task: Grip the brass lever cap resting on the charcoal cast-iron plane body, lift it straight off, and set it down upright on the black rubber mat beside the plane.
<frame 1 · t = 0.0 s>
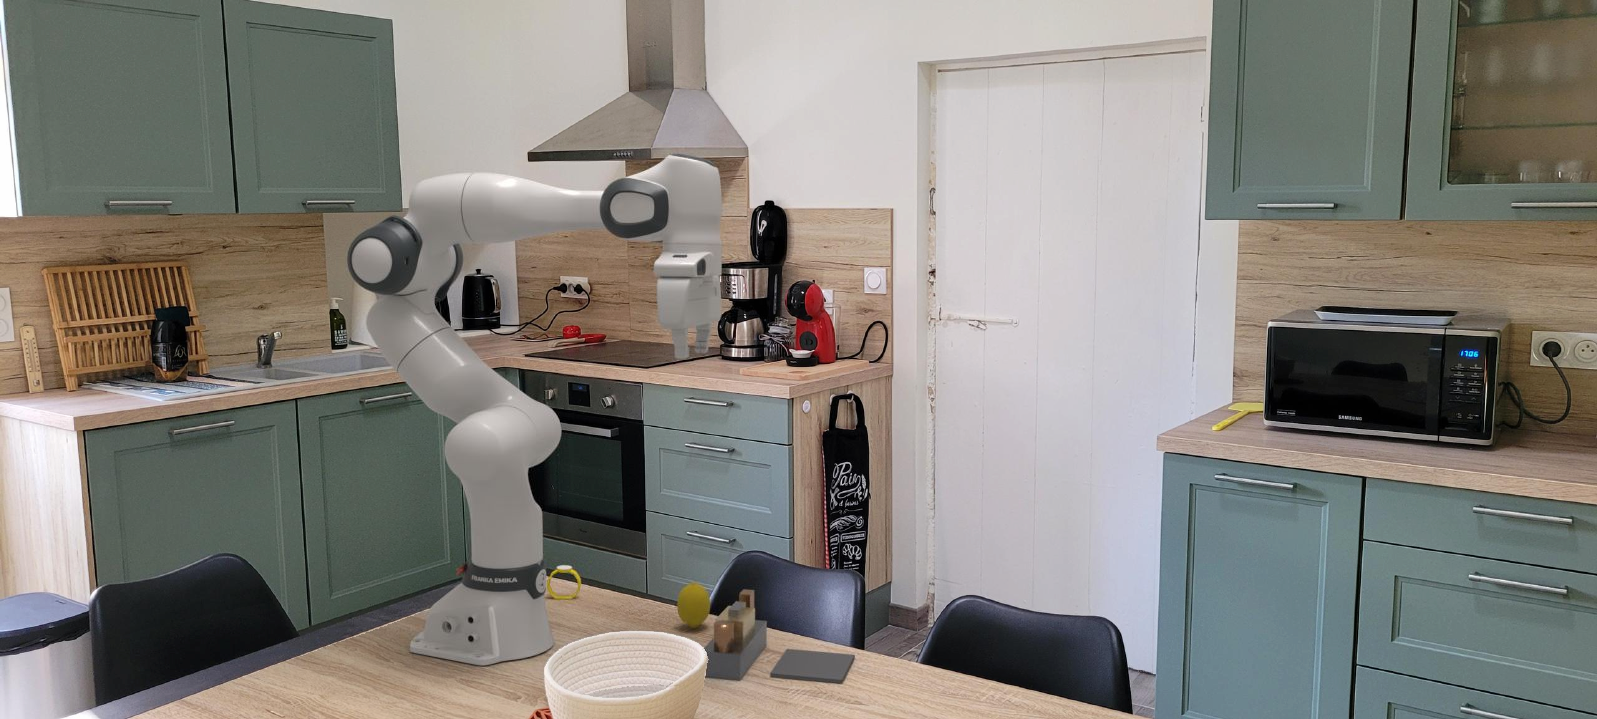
hand: (691, 355, 175), 48 cm above the table, fingers open, 8 cm apart
plane body: (735, 660, 181), on the table
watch: (564, 599, 212), on the table
lemon: (693, 629, 196), on the table
lever cap: (735, 635, 181), point 4 cm above the table, touching plane body
rubber mat: (813, 667, 179), on the table
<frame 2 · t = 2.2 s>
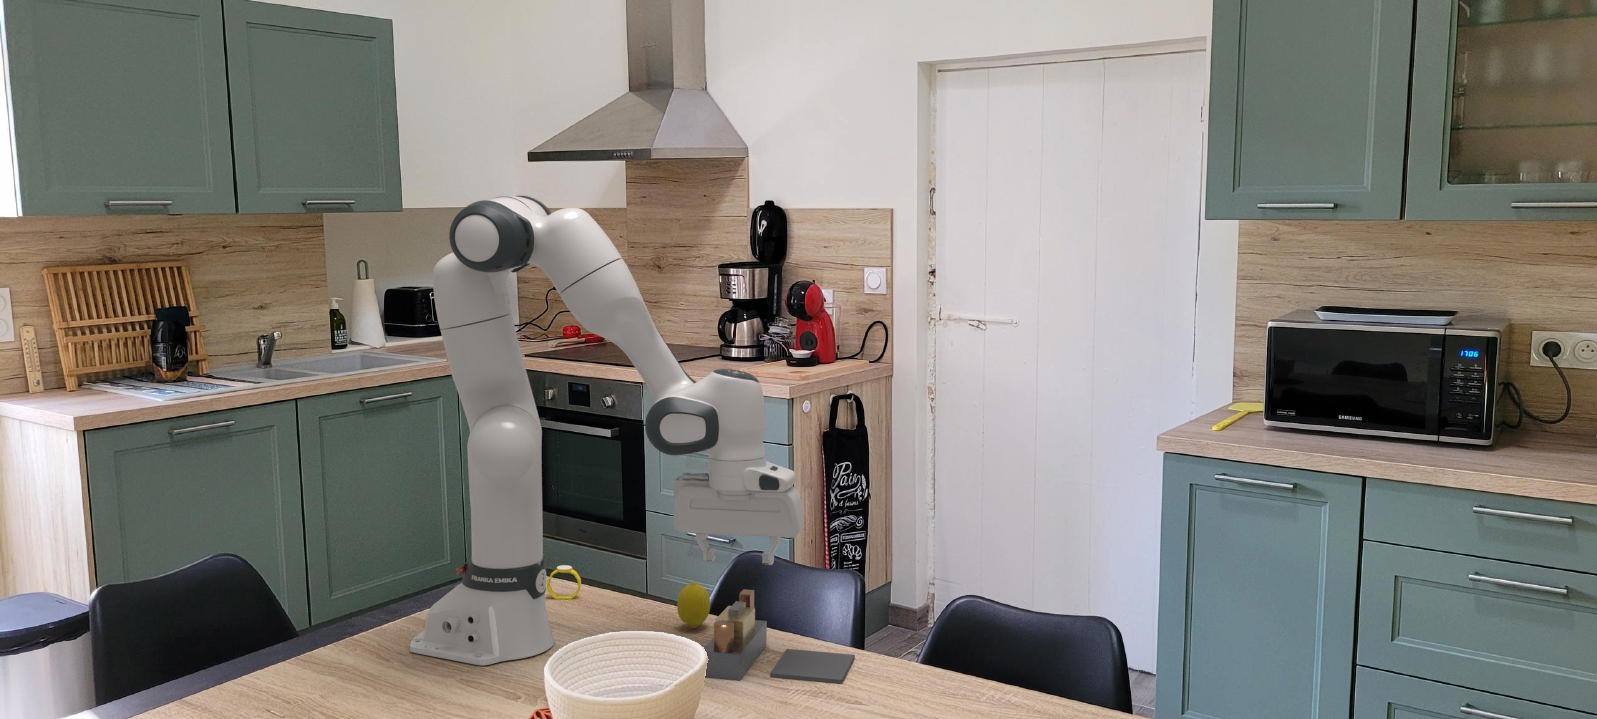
hand: (738, 562, 180), 16 cm above the table, fingers open, 8 cm apart
nothing on the table moved.
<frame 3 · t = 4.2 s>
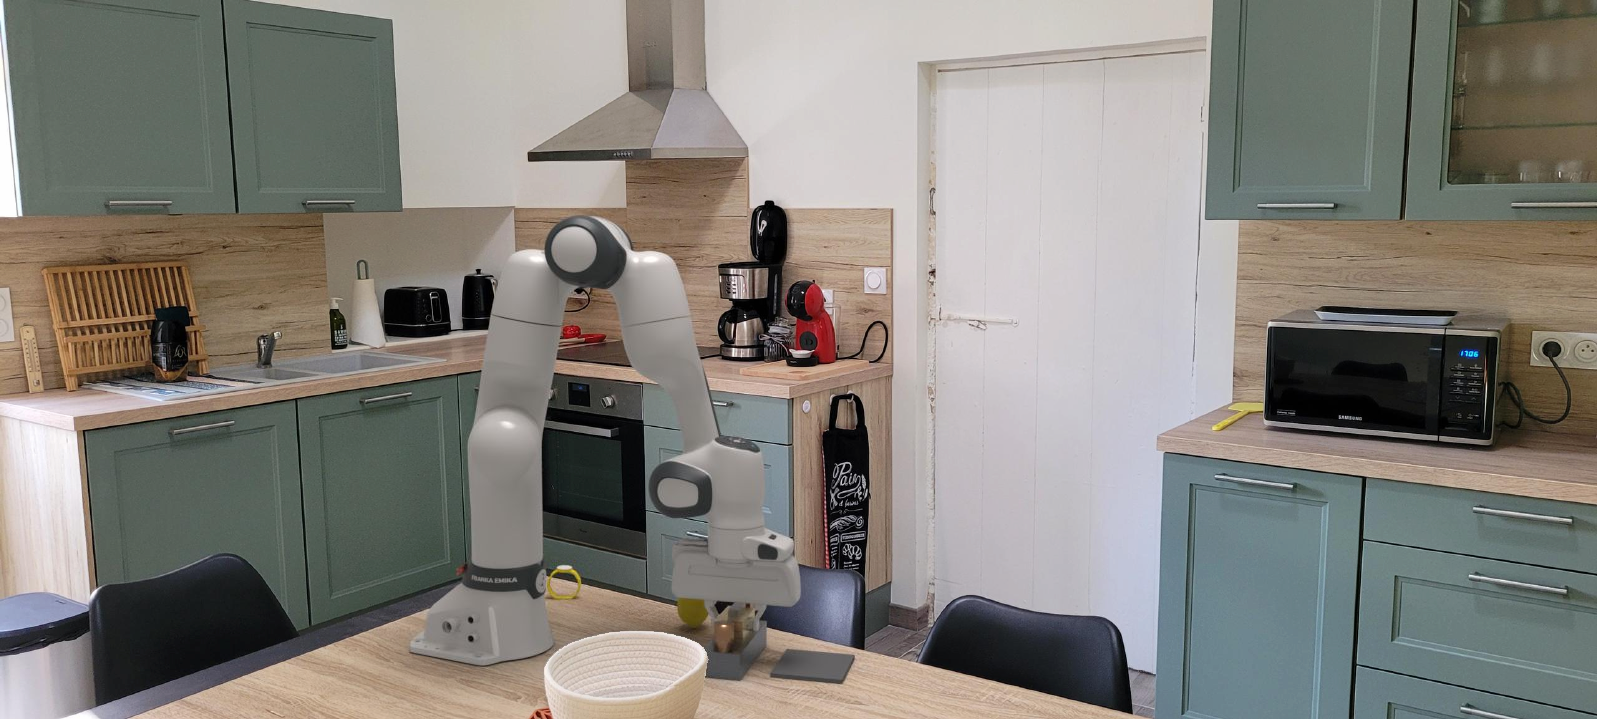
hand: (735, 628, 181), 5 cm above the table, fingers closed on lever cap, 4 cm apart
lever cap: (735, 635, 181), point 4 cm above the table, touching gripper, plane body
everything else where it was.
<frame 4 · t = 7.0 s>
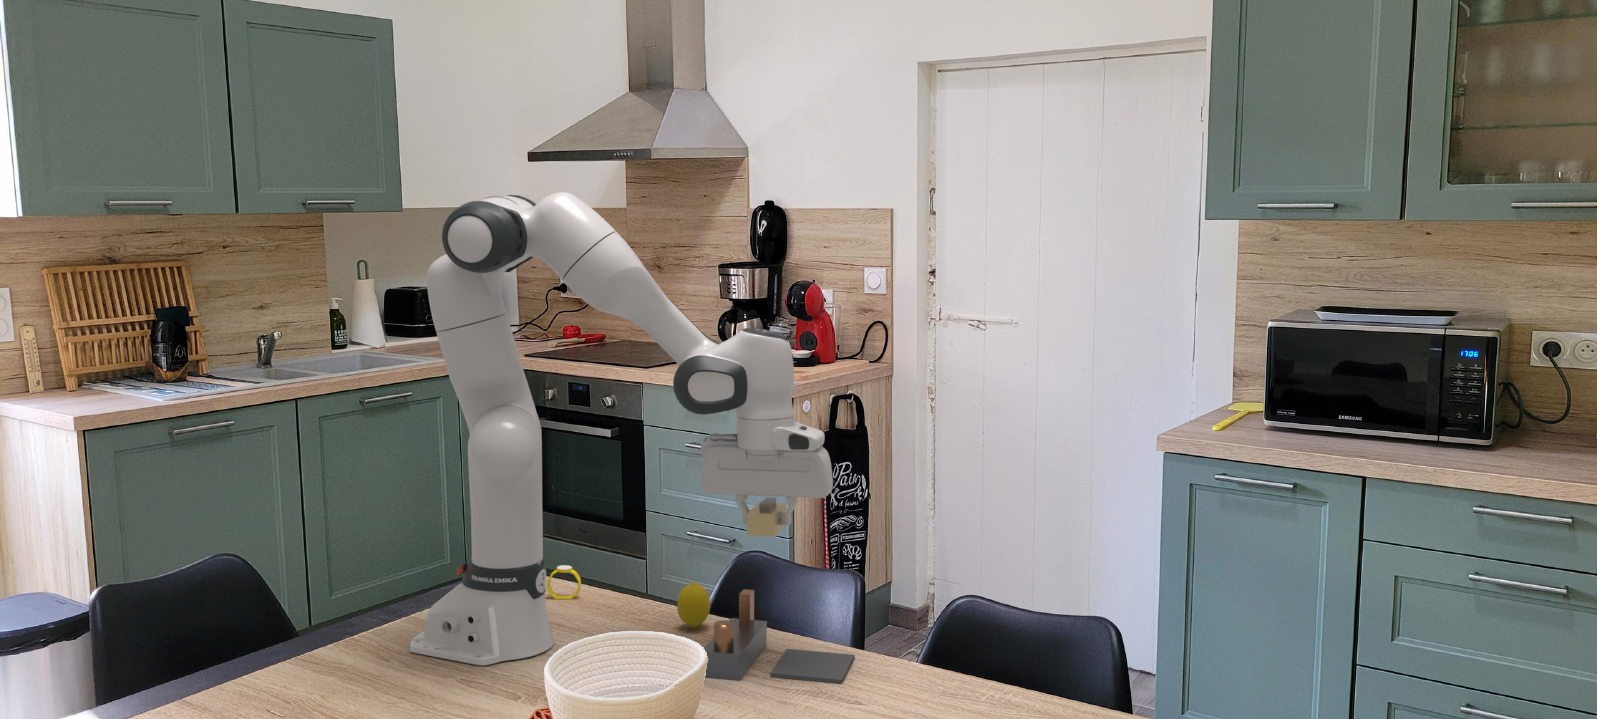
hand: (767, 523, 178), 22 cm above the table, fingers closed on lever cap, 4 cm apart
lever cap: (767, 530, 178), point 21 cm above the table, touching gripper
everything else where it was.
when the fingers open (4 cm above the table, at t = 10.1 s): lever cap drops 2 cm, resting on rubber mat.
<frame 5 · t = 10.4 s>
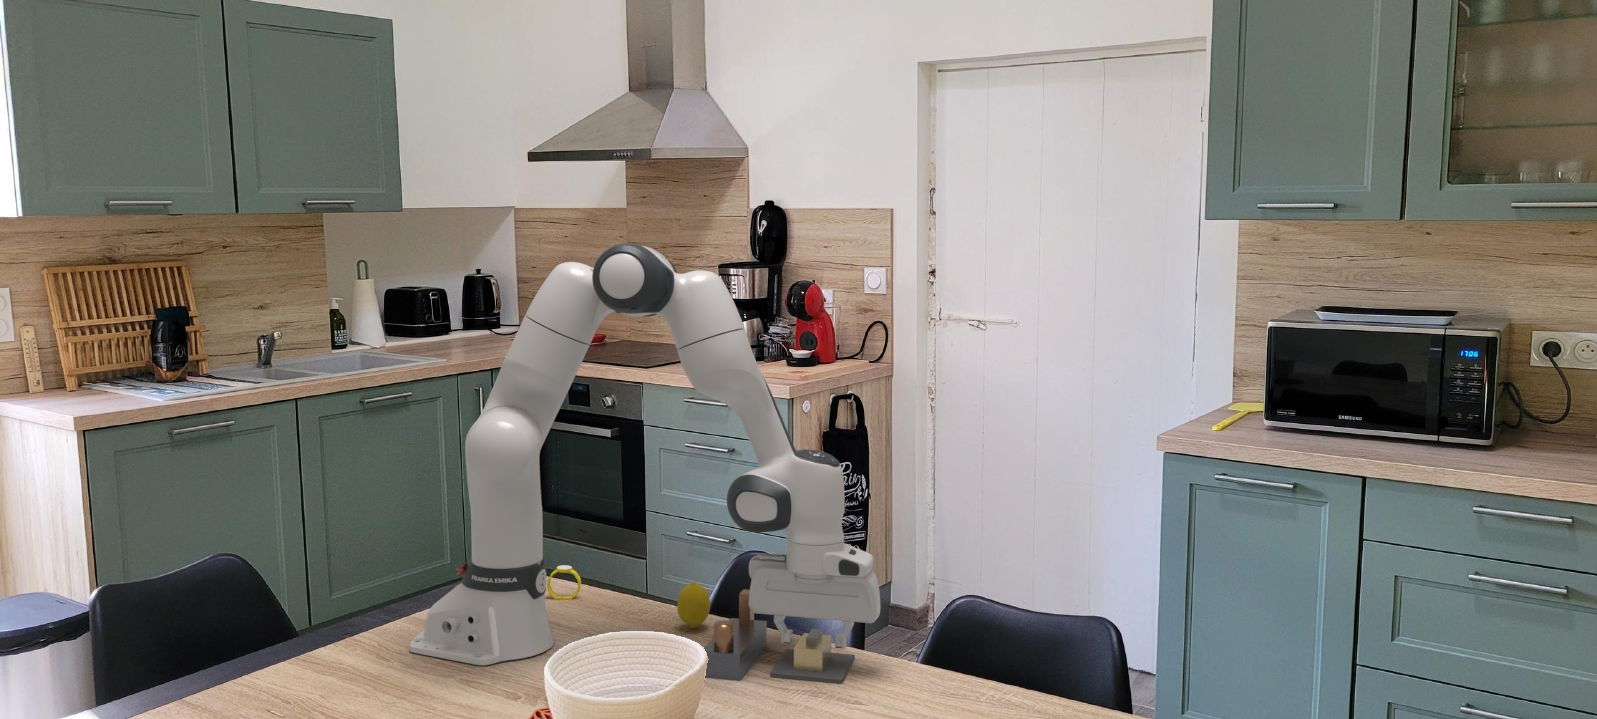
hand: (813, 644, 178), 4 cm above the table, fingers open, 7 cm apart
lever cap: (812, 663, 179), point 1 cm above the table, touching rubber mat
everything else where it was.
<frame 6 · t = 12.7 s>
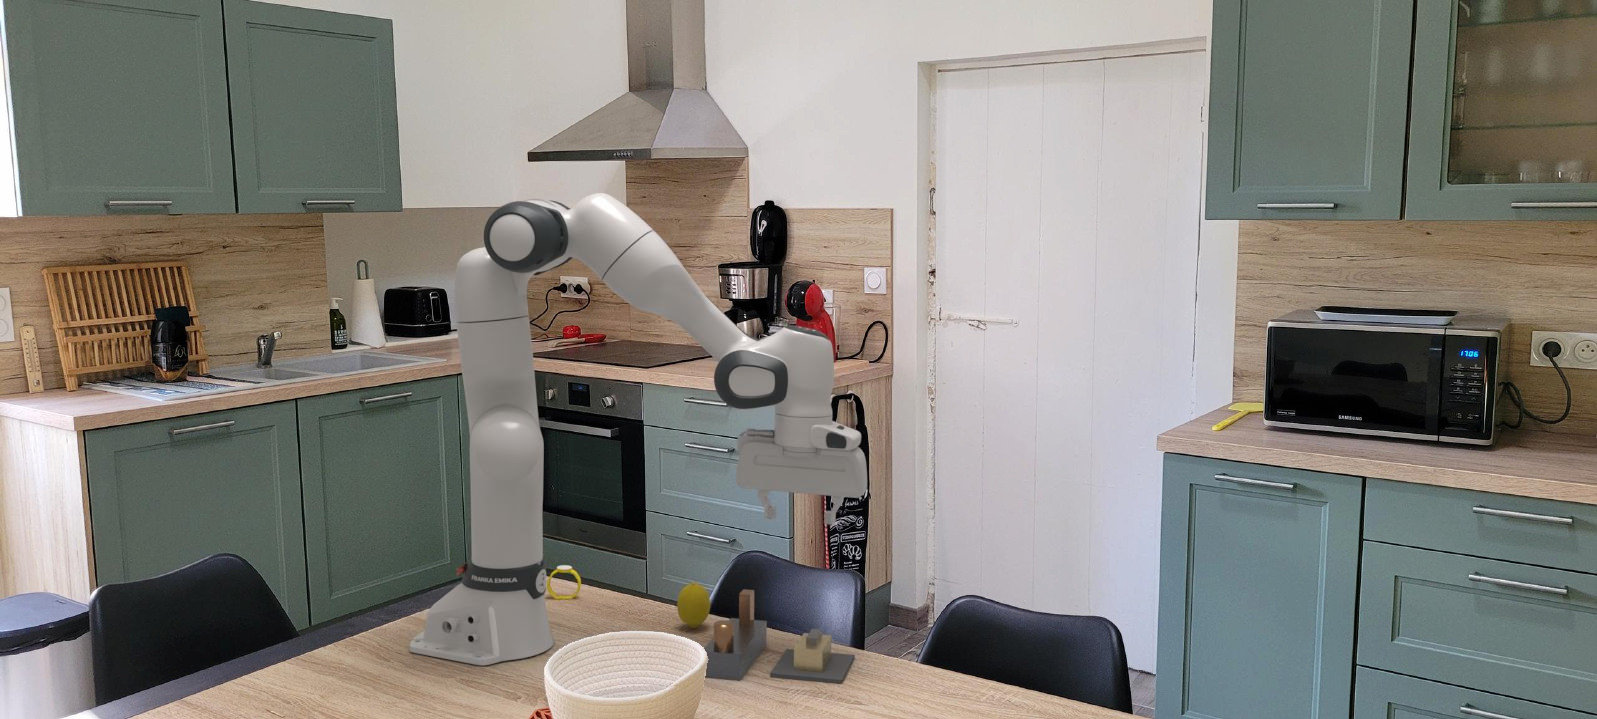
hand: (799, 520, 179), 22 cm above the table, fingers open, 8 cm apart
nothing on the table moved.
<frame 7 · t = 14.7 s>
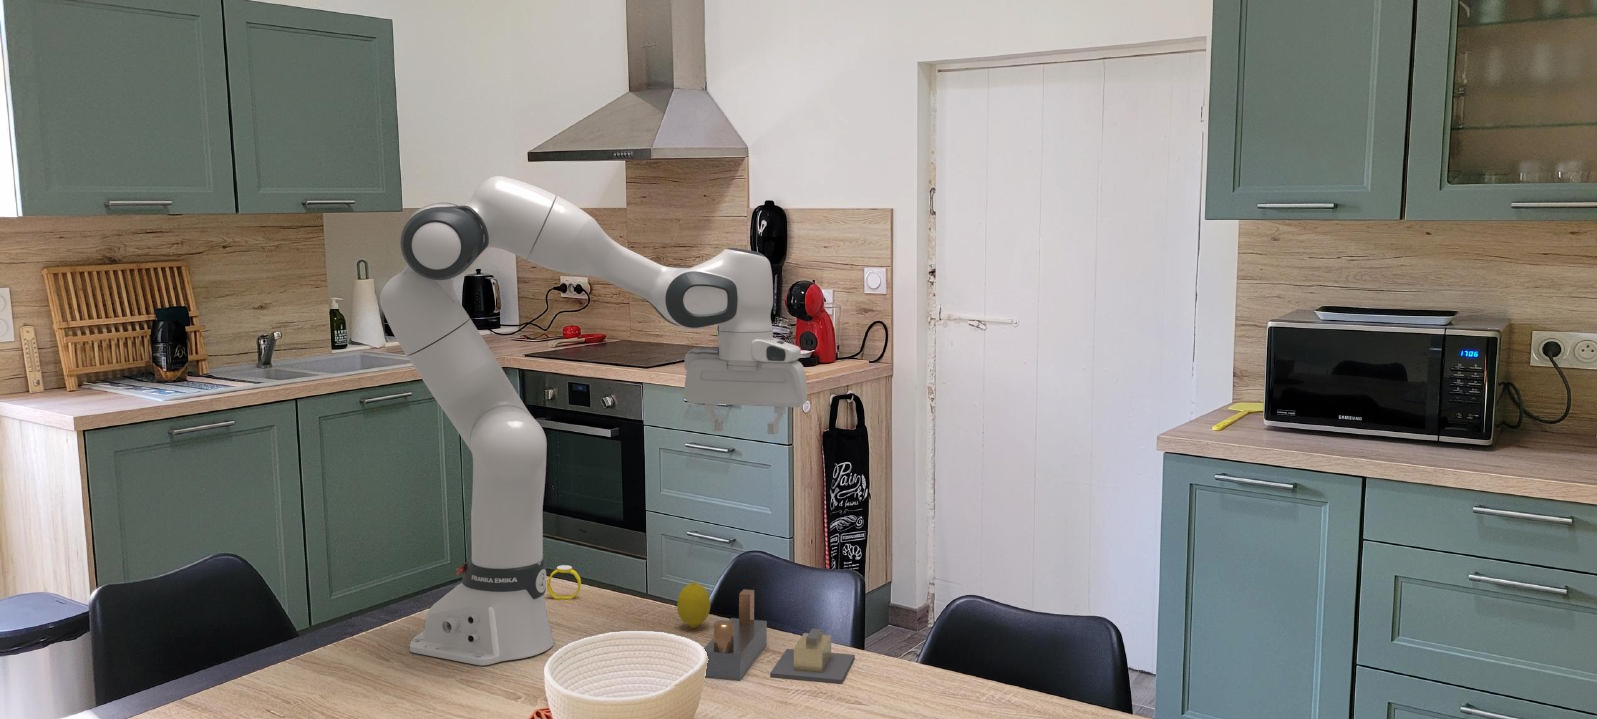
hand: (745, 432, 190), 34 cm above the table, fingers open, 8 cm apart
nothing on the table moved.
at the end: lever cap 0.1 cm off-centre on the rubber mat, point 0.6 cm above the rubber mat's base; lever cap tilted 0°; the gripper is holding nothing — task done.
